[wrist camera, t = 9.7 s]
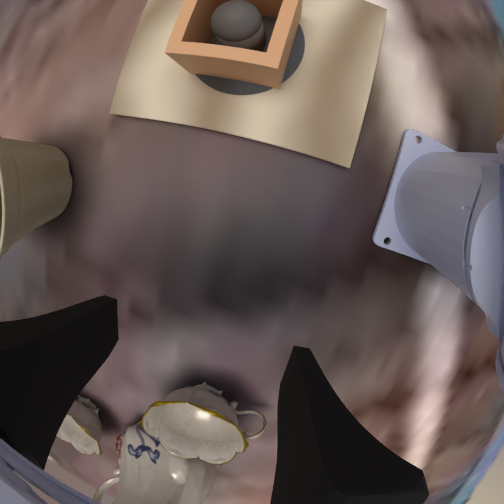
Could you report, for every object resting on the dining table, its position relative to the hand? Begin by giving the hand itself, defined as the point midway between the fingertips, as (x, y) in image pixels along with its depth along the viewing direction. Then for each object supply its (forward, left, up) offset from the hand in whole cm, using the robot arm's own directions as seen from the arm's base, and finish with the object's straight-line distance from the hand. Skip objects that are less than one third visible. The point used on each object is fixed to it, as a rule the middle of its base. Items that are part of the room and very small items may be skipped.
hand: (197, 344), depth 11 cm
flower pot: (+17, -2, -10) cm, 20 cm away
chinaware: (+4, +21, -10) cm, 24 cm away
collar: (+3, -14, -8) cm, 17 cm away
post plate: (+3, -14, -9) cm, 17 cm away
